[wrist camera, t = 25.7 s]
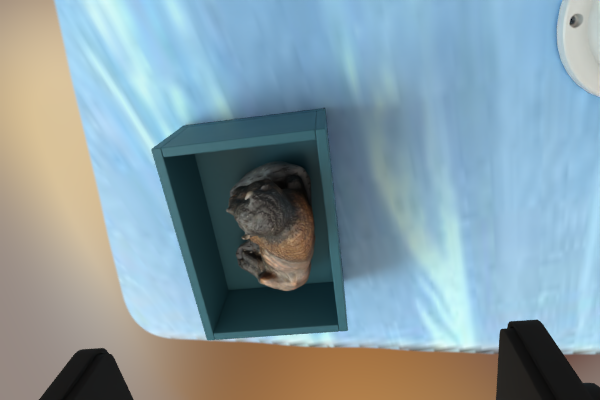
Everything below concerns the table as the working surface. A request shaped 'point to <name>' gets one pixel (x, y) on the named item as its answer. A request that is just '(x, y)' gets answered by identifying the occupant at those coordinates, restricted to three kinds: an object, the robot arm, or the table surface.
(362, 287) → the table surface
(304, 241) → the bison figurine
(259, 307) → the bin
